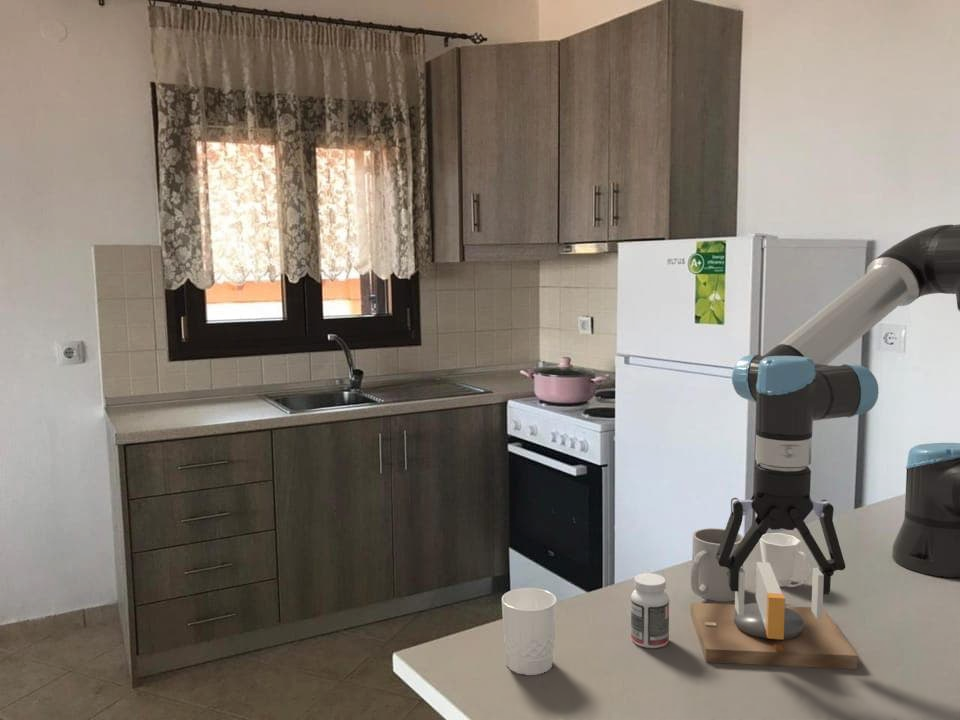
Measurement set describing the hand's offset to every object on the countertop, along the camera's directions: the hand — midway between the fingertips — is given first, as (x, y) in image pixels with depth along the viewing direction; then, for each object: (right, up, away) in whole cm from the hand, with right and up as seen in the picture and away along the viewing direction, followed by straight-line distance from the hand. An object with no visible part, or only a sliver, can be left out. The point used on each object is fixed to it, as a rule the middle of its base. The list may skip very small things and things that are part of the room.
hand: (777, 613), depth 117 cm
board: (+1, -6, +6) cm, 9 cm away
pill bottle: (-17, -7, +6) cm, 20 cm away
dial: (+1, -4, +6) cm, 7 cm away
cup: (+11, -4, +27) cm, 29 cm away
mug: (-3, -4, +24) cm, 24 cm away
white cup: (-36, -8, 0) cm, 37 cm away
